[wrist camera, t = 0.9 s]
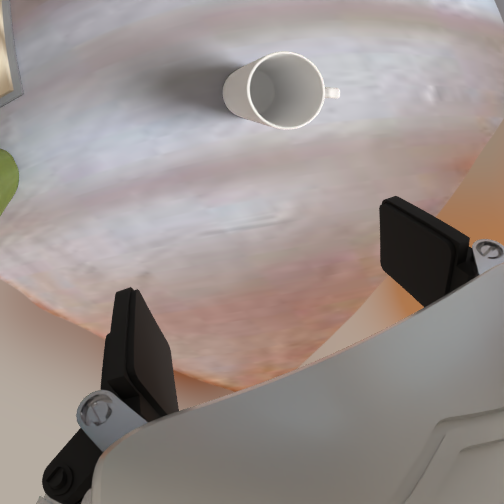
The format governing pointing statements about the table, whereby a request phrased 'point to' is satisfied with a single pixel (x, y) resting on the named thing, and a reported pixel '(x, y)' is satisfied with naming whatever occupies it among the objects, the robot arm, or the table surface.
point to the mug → (277, 91)
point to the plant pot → (7, 179)
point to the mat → (10, 55)
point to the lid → (4, 62)
